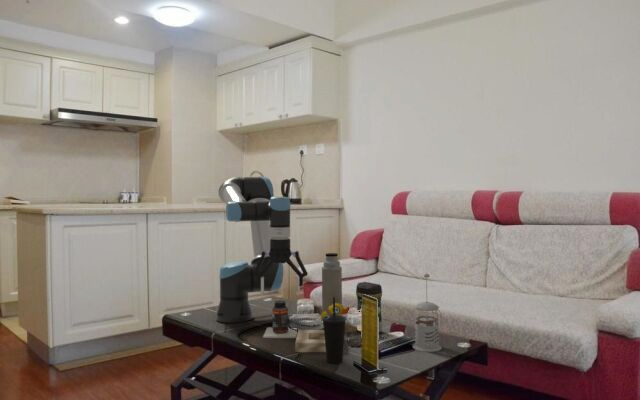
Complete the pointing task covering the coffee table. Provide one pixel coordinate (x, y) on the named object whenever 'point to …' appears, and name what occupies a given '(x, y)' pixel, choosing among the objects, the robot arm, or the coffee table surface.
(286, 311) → the supplement bottle
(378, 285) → the coffee jar
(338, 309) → the duckling
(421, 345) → the french press
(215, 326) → the coffee table surface
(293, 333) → the rubber mat
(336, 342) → the drinking cup
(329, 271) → the thermos bottle
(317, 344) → the bore block
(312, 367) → the coffee table surface
